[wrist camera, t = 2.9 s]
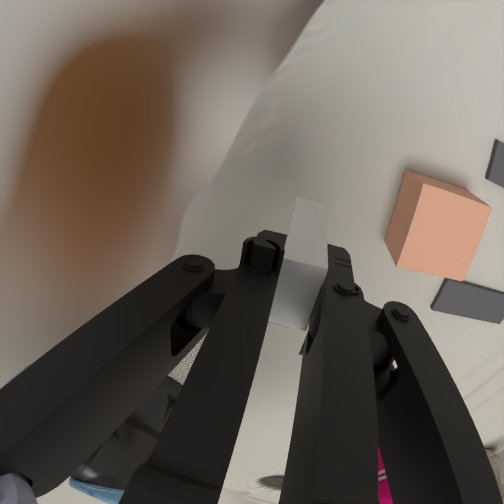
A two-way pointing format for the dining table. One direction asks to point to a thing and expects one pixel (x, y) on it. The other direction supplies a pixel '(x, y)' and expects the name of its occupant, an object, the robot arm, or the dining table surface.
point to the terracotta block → (435, 227)
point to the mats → (470, 295)
